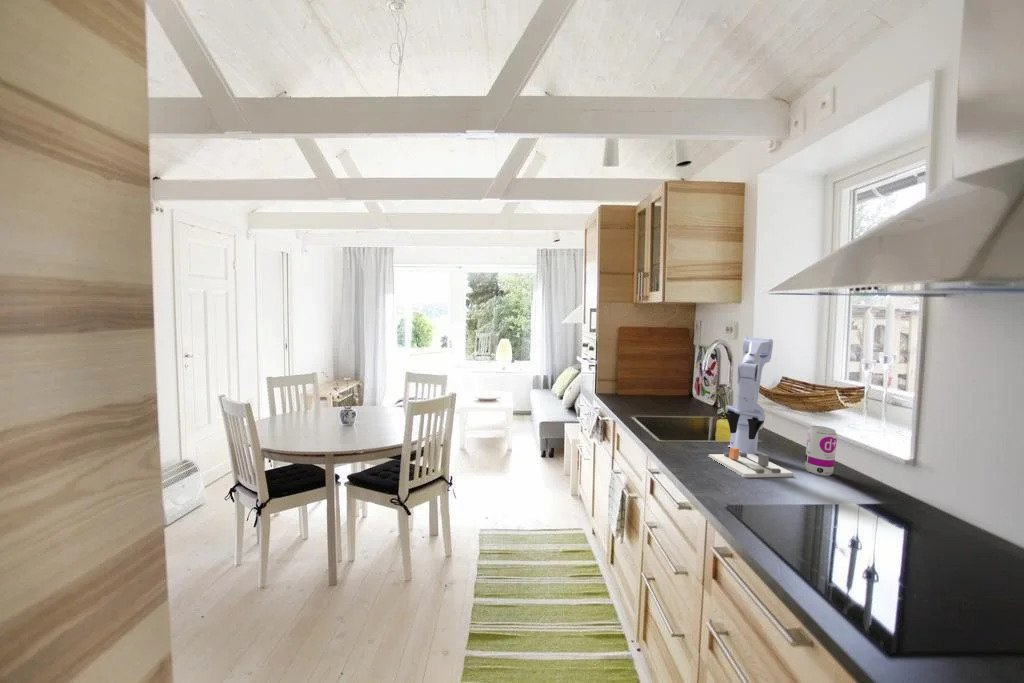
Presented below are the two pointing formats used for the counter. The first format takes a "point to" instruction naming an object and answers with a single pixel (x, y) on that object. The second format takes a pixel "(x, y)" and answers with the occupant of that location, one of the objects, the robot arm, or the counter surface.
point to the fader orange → (734, 453)
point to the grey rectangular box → (763, 459)
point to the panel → (750, 466)
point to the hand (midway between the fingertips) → (742, 435)
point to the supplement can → (820, 450)
